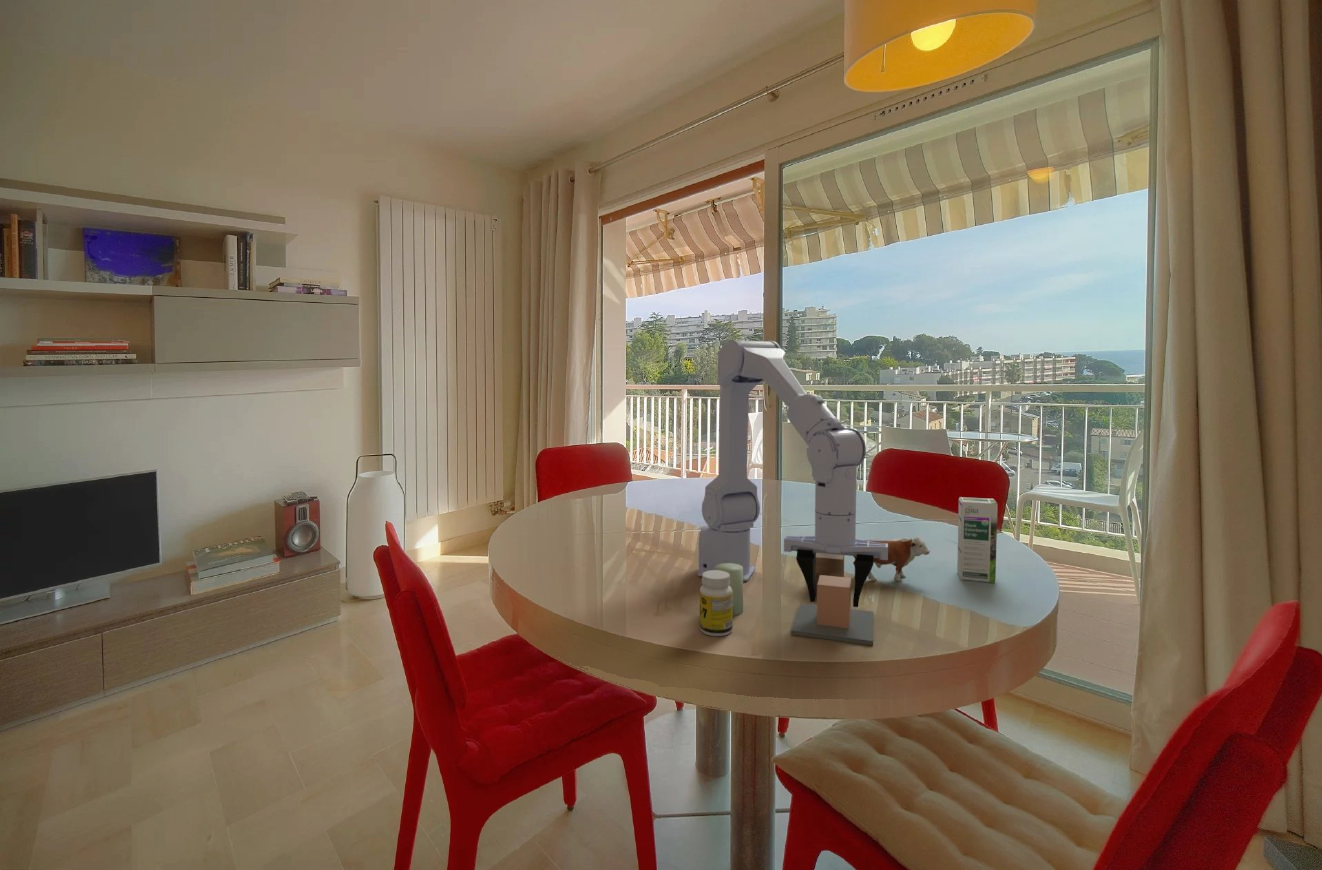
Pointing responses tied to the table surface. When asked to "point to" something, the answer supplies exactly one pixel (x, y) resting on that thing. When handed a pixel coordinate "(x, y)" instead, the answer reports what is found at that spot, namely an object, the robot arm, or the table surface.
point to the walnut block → (829, 565)
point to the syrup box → (977, 539)
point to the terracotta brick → (833, 601)
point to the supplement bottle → (716, 603)
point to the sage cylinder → (734, 585)
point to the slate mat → (855, 633)
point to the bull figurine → (900, 554)
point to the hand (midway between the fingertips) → (834, 602)
